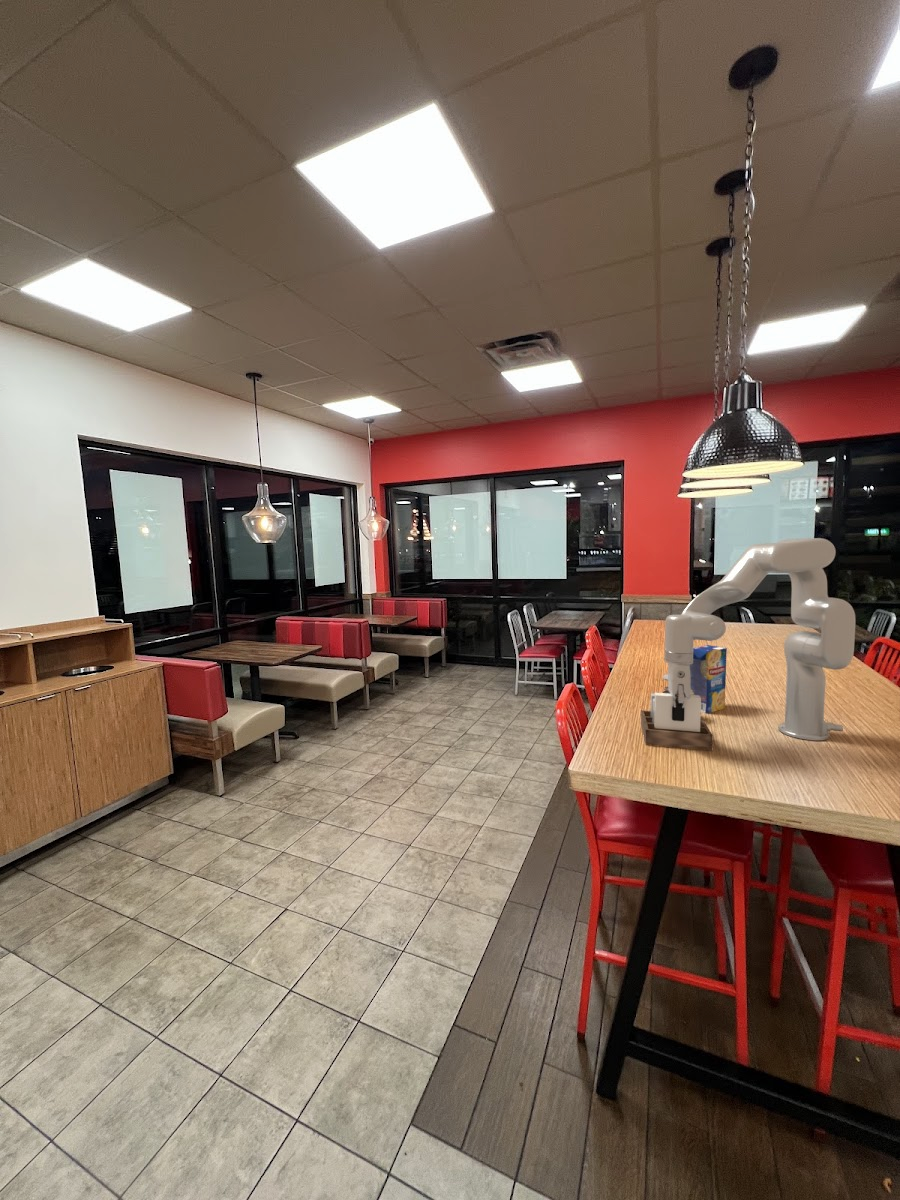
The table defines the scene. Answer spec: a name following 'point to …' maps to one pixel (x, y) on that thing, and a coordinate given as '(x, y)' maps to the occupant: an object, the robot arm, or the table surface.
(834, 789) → the table surface
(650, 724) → the rack
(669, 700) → the plate
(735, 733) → the table surface
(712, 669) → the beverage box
